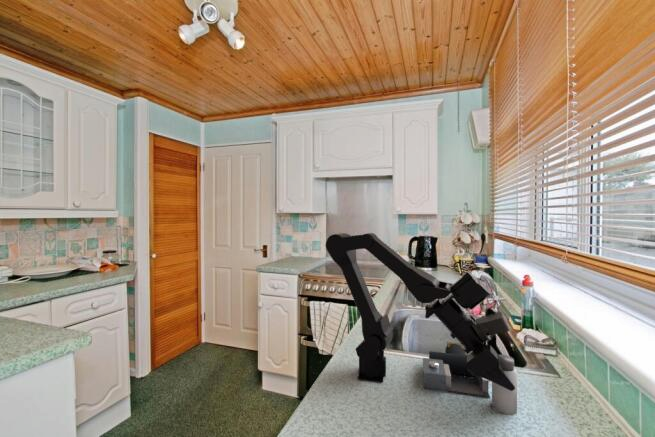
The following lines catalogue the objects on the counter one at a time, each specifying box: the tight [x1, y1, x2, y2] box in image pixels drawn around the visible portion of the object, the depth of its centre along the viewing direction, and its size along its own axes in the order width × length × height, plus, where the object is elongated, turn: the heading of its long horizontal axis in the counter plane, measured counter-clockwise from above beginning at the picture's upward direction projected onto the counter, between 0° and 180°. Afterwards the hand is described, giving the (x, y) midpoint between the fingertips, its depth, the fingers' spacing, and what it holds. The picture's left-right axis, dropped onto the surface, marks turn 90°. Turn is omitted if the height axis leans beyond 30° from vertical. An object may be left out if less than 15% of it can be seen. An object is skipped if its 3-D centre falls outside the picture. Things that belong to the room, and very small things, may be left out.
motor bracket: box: [422, 357, 491, 399], centre depth 78 cm, size 15×8×5 cm, turn 75°
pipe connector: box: [428, 341, 478, 378], centre depth 87 cm, size 12×5×15 cm
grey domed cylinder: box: [491, 354, 518, 416], centre depth 68 cm, size 5×5×11 cm
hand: (511, 378), depth 68 cm, fingers open, 9 cm apart
